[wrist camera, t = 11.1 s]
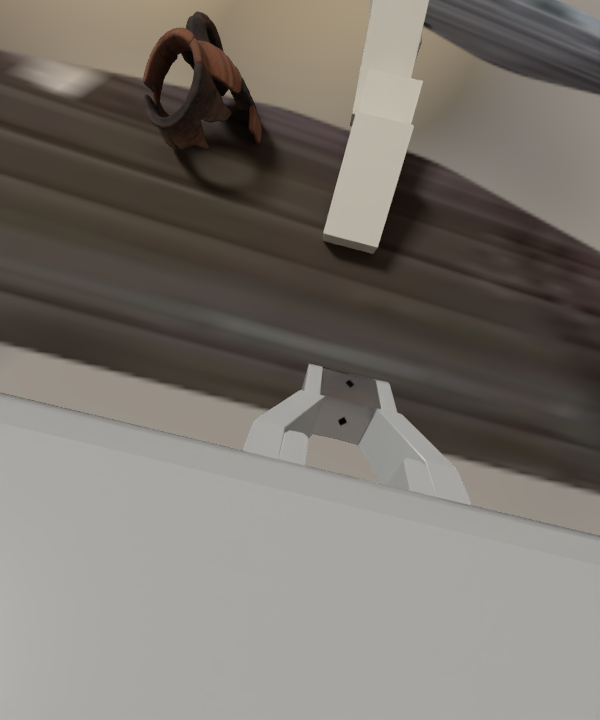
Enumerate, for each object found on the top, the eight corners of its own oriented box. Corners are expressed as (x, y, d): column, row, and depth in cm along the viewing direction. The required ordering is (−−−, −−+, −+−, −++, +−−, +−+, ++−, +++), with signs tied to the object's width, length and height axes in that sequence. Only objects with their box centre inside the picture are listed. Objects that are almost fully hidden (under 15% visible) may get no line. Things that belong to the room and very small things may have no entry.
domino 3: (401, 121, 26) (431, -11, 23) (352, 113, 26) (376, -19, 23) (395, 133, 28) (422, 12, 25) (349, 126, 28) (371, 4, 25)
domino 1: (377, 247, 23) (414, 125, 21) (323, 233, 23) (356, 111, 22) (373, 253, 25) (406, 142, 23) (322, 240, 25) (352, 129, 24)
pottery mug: (271, 170, 27) (215, 107, 20) (204, 197, 31) (137, 153, 24) (263, 48, 27) (201, -64, 19) (195, 92, 31) (123, 13, 23)
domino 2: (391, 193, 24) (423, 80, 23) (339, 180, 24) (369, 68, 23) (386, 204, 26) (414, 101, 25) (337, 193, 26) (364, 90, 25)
